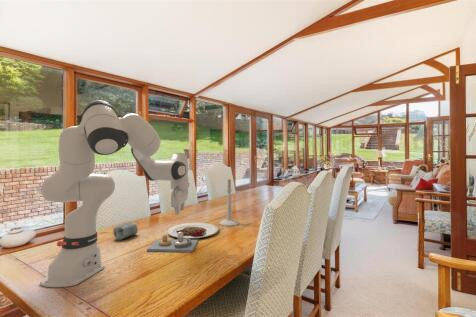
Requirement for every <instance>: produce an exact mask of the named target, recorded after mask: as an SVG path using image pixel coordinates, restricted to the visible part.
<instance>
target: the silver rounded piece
mask: <svg viewBox="0 0 476 317" xmlns="http://www.w3.org/2000/svg"><path fill="white" fill-rule="evenodd" d="M174 240H175V241H174V242H173V245H174V246H175V244H185V243H187V242H188V240H187V239H183V232H178V237H177V239H174Z"/></svg>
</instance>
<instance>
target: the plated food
mask: <svg viewBox="0 0 476 317" xmlns="http://www.w3.org/2000/svg"><path fill="white" fill-rule="evenodd" d="M178 232H183V238H189V239H190V240H195V239H201V238H206V237H209V236H210V237H211V236H213V235H215V234H217V233H218V232H219V227H218V226H217V225H215V224H213V223H207V222H186V223H179V224H176V225H173V226H171V227H169V228H168V230H167V235H169V236H171V237H173V238H178Z"/></svg>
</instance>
